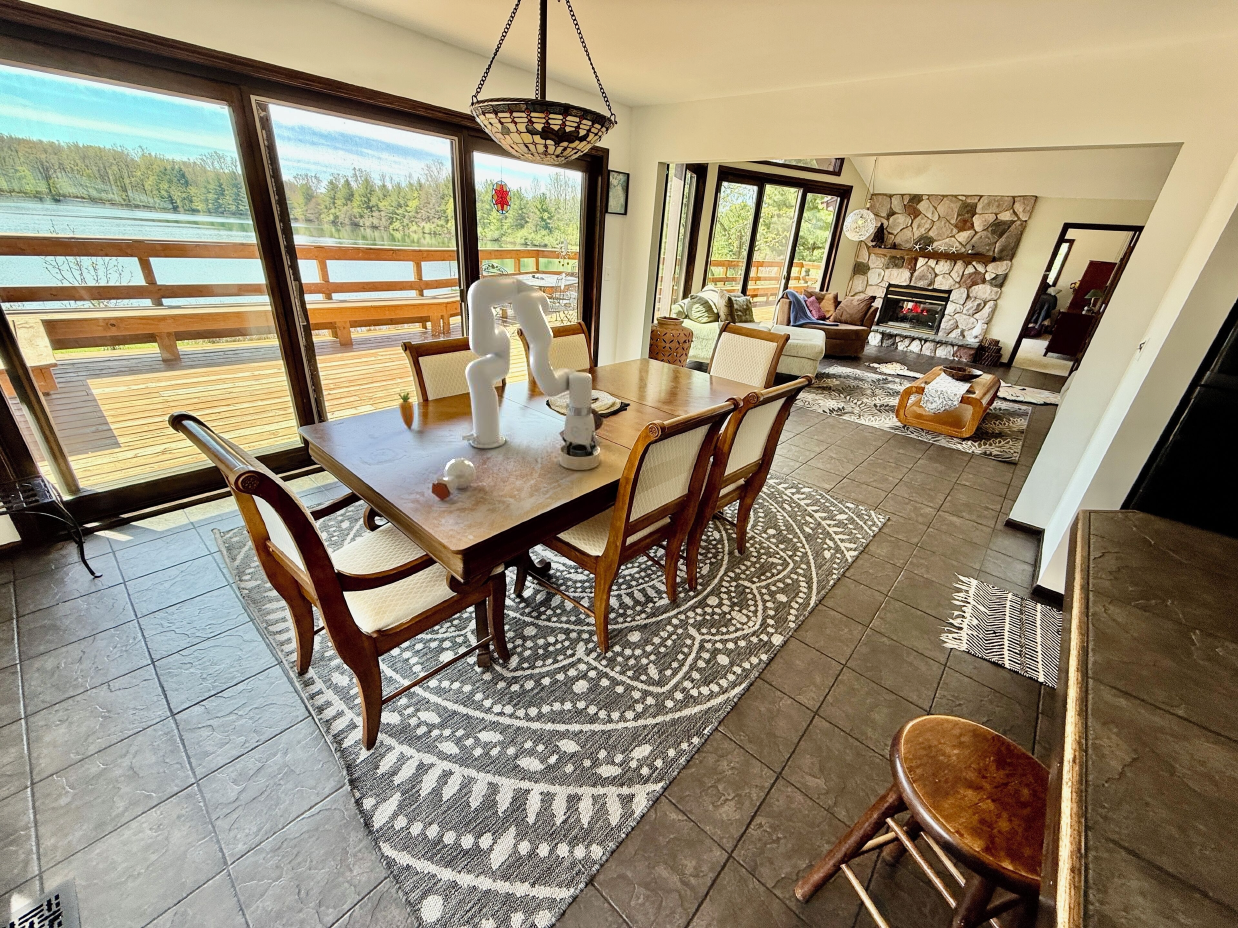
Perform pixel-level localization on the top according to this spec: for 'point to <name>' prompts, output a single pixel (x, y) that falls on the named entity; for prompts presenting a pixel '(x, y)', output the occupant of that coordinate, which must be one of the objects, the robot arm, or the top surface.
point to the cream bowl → (578, 459)
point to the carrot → (406, 410)
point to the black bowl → (578, 450)
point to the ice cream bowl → (596, 420)
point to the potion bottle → (454, 478)
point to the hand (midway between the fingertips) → (579, 457)
